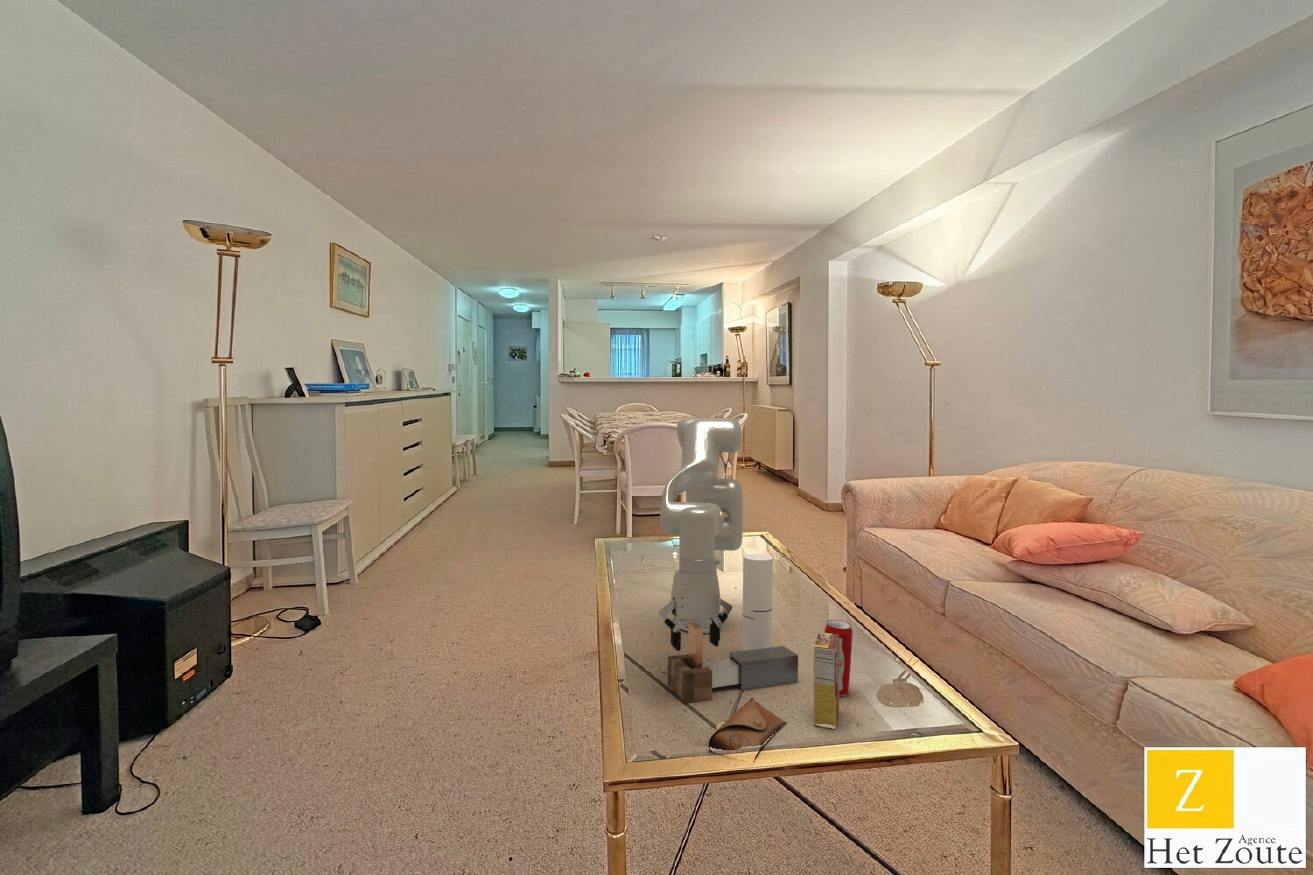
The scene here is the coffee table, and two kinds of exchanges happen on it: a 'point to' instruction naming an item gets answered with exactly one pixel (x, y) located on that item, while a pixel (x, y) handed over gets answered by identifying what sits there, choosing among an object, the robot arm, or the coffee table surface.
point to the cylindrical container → (757, 602)
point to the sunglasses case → (746, 728)
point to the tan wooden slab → (721, 670)
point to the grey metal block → (766, 667)
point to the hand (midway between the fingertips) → (695, 646)
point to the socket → (689, 680)
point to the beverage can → (842, 651)
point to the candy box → (826, 679)
